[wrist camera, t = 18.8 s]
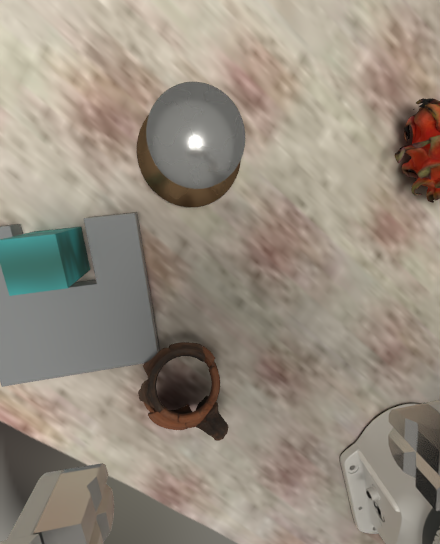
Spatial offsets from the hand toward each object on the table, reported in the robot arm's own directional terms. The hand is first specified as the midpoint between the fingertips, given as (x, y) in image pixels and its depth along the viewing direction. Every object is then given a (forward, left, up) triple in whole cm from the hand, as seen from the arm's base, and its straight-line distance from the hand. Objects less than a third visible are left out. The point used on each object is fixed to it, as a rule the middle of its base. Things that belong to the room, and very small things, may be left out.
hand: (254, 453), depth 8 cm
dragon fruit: (+9, -27, -26) cm, 38 cm away
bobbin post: (+11, -1, -26) cm, 28 cm away
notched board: (-2, +13, -26) cm, 29 cm away
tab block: (+3, +13, -26) cm, 29 cm away
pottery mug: (-14, +3, -26) cm, 29 cm away
